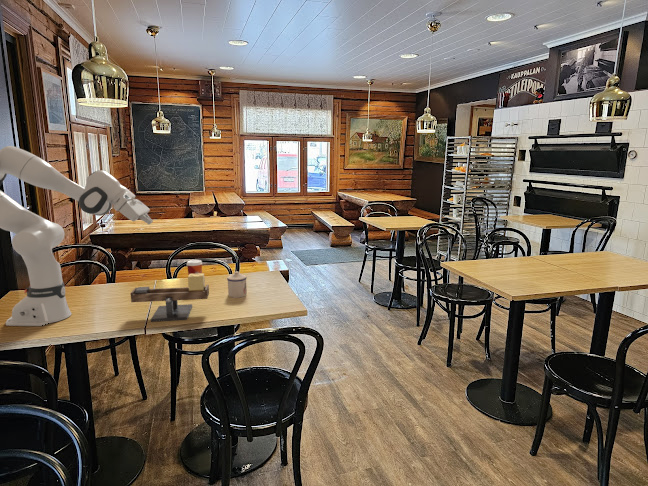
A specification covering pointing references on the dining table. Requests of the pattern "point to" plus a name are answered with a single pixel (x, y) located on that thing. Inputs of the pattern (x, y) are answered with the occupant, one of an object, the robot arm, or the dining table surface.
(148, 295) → the beam
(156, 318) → the stand
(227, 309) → the dining table surface
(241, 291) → the teacup with lid
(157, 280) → the dining table surface
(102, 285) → the dining table surface
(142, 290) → the counterweight
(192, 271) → the paper cup
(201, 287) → the rider
